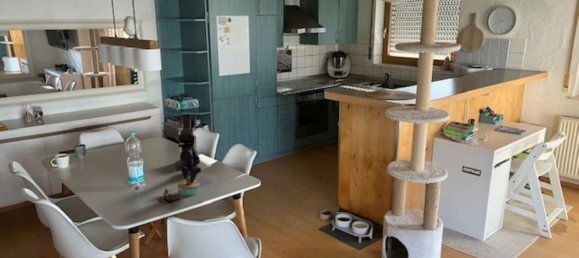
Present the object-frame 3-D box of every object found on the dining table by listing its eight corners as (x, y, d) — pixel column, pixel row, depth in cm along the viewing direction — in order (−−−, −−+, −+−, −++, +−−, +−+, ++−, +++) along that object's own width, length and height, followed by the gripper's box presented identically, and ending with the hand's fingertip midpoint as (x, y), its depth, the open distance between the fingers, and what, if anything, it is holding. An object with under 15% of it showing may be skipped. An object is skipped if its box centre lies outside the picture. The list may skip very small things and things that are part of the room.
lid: (174, 185, 246) (173, 177, 245) (193, 179, 254) (192, 172, 253) (184, 191, 237) (184, 183, 236) (203, 185, 245) (203, 177, 244)
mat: (186, 182, 260) (186, 181, 260) (203, 177, 268) (203, 176, 268) (196, 188, 252) (196, 187, 252) (214, 183, 260) (214, 182, 260)
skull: (152, 198, 235) (162, 181, 239) (166, 205, 243) (175, 189, 246) (164, 204, 228) (175, 186, 231) (178, 211, 235) (188, 194, 238)
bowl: (175, 191, 247) (175, 185, 246) (192, 186, 254) (192, 180, 253) (185, 197, 239) (185, 190, 238) (202, 192, 246) (202, 185, 245)
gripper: (165, 153, 242) (167, 180, 246) (182, 162, 229) (184, 189, 233) (183, 149, 250) (185, 175, 254) (200, 157, 236) (202, 184, 240)
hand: (188, 181), depth 245 cm, fingers open, 7 cm apart
